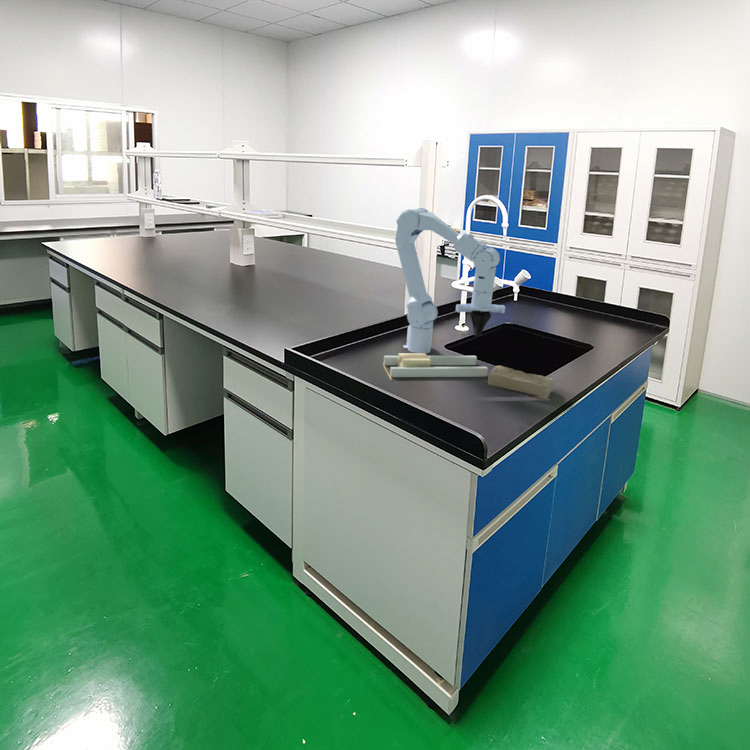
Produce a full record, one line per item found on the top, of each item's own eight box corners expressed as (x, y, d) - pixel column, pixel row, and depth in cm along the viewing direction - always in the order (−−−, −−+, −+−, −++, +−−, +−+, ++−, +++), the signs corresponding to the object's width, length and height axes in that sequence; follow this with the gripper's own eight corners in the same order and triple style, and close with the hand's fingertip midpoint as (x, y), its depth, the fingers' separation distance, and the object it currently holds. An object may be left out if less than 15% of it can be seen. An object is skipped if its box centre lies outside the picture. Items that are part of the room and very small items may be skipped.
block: (397, 366, 174) (398, 353, 173) (424, 366, 175) (425, 353, 174) (401, 373, 168) (402, 360, 167) (429, 373, 170) (430, 360, 169)
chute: (382, 365, 176) (383, 355, 175) (473, 365, 182) (474, 355, 180) (391, 380, 165) (391, 369, 164) (487, 379, 171) (488, 369, 169)
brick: (552, 391, 166) (555, 375, 164) (546, 401, 159) (549, 385, 157) (494, 379, 173) (496, 364, 171) (486, 388, 165) (488, 372, 164)
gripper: (463, 293, 168) (457, 339, 173) (511, 294, 171) (505, 339, 176) (455, 287, 175) (450, 332, 180) (502, 288, 178) (496, 332, 182)
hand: (477, 335), depth 178 cm, fingers closed
